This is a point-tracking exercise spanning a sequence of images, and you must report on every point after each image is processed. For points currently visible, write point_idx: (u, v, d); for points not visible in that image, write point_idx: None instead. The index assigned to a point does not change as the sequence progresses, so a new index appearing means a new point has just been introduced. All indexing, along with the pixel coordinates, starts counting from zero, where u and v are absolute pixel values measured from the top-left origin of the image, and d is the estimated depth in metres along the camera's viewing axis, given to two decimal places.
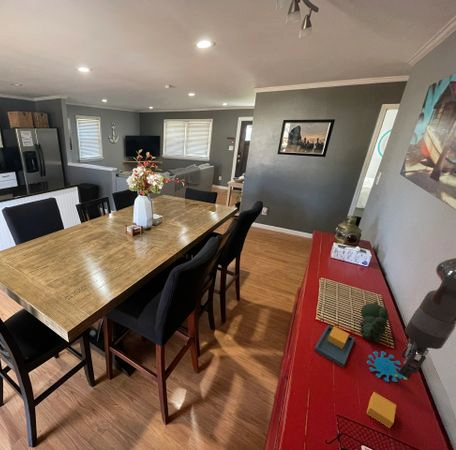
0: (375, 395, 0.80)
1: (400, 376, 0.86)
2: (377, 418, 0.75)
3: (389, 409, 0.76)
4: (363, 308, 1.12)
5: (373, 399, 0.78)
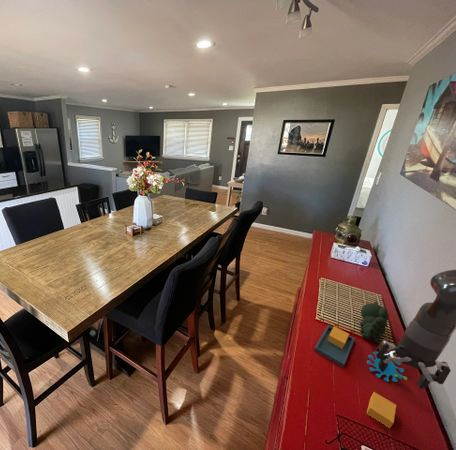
0: (375, 395, 0.80)
1: (400, 376, 0.86)
2: (377, 418, 0.75)
3: (389, 409, 0.76)
4: (363, 308, 1.12)
5: (373, 399, 0.78)
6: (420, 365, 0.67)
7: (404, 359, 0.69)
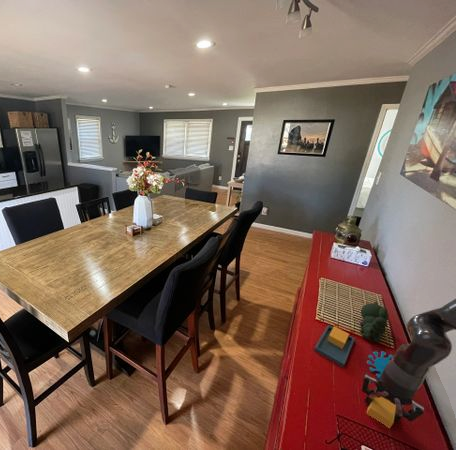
0: None
1: None
2: (377, 418, 0.75)
3: (389, 409, 0.76)
4: (363, 308, 1.12)
5: (373, 399, 0.78)
6: (396, 401, 0.72)
7: (382, 393, 0.74)
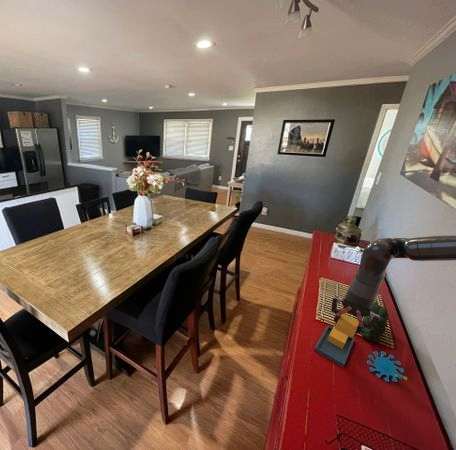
0: (343, 315, 0.93)
1: (400, 376, 0.86)
2: (343, 330, 0.89)
3: (353, 324, 0.89)
4: None
5: (340, 317, 0.92)
6: (357, 313, 0.85)
7: (347, 308, 0.88)
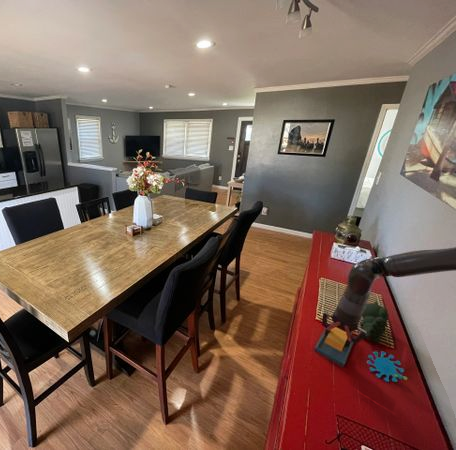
0: (333, 329, 0.98)
1: (400, 376, 0.86)
2: (332, 344, 0.94)
3: (342, 338, 0.94)
4: None
5: (330, 331, 0.97)
6: (345, 328, 0.90)
7: (336, 323, 0.93)
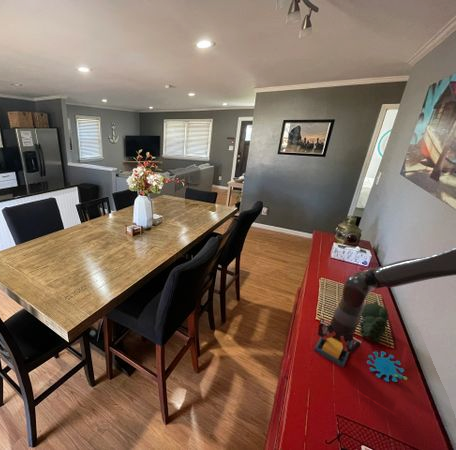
0: (329, 338, 1.00)
1: (400, 376, 0.86)
2: None
3: (337, 347, 0.96)
4: None
5: (327, 341, 0.99)
6: (341, 338, 0.92)
7: (332, 333, 0.95)
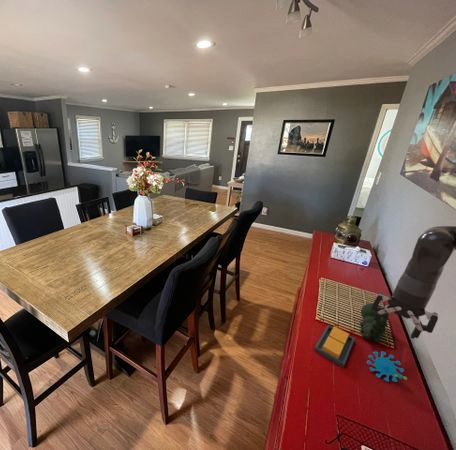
0: (329, 338, 1.00)
1: (400, 376, 0.86)
2: None
3: (337, 347, 0.96)
4: (363, 308, 1.12)
5: (327, 341, 0.99)
6: (409, 314, 0.74)
7: (395, 308, 0.77)
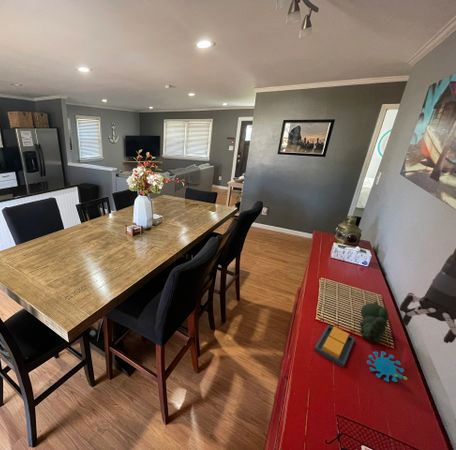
0: (329, 338, 1.00)
1: (400, 376, 0.86)
2: None
3: (337, 347, 0.96)
4: (363, 308, 1.12)
5: (327, 341, 0.99)
6: (445, 316, 0.68)
7: (428, 310, 0.70)
